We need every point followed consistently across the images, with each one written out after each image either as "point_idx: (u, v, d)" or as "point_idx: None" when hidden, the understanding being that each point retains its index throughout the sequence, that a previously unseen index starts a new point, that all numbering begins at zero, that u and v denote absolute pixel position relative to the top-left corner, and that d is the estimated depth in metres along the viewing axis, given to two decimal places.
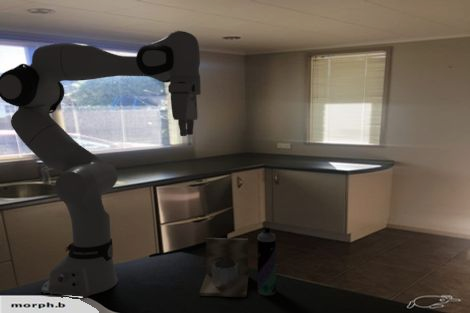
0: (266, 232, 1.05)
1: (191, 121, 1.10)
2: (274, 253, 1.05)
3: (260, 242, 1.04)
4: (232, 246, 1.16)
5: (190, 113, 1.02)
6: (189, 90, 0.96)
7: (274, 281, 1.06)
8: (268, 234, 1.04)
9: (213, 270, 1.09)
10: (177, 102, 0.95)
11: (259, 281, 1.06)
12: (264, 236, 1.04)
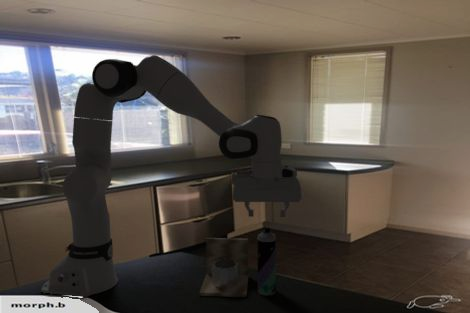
0: (266, 232, 1.05)
1: (249, 202, 1.06)
2: (274, 253, 1.05)
3: (260, 242, 1.04)
4: (232, 246, 1.16)
5: None
6: None
7: (274, 281, 1.06)
8: (268, 234, 1.04)
9: (213, 270, 1.09)
10: None
11: (259, 281, 1.06)
12: (264, 236, 1.04)
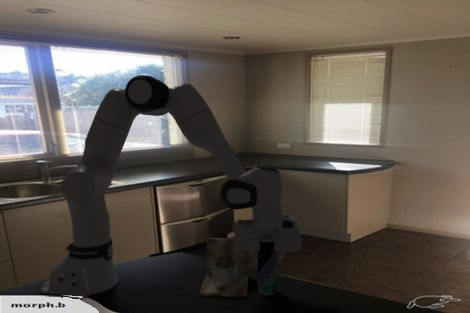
0: None
1: None
2: (274, 253, 1.05)
3: (260, 242, 1.04)
4: (232, 246, 1.16)
5: None
6: None
7: (274, 281, 1.06)
8: None
9: (213, 270, 1.09)
10: None
11: (259, 281, 1.06)
12: (264, 237, 1.04)
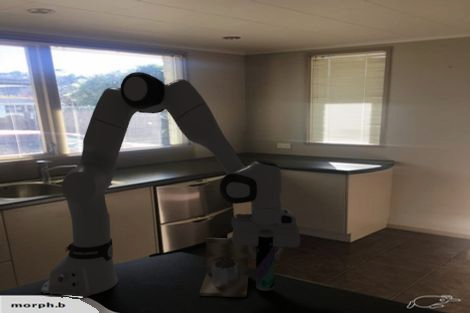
0: None
1: None
2: (273, 248, 1.04)
3: (259, 237, 1.04)
4: (232, 246, 1.16)
5: None
6: None
7: (272, 276, 1.05)
8: (267, 230, 1.04)
9: (213, 270, 1.09)
10: None
11: (257, 276, 1.05)
12: (263, 232, 1.03)
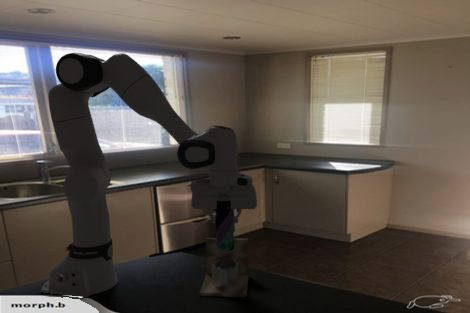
0: None
1: (212, 209, 1.10)
2: (231, 212, 1.08)
3: (217, 201, 1.07)
4: None
5: None
6: None
7: (232, 240, 1.09)
8: (225, 194, 1.07)
9: (213, 270, 1.09)
10: (255, 193, 1.07)
11: (217, 240, 1.09)
12: (221, 196, 1.07)
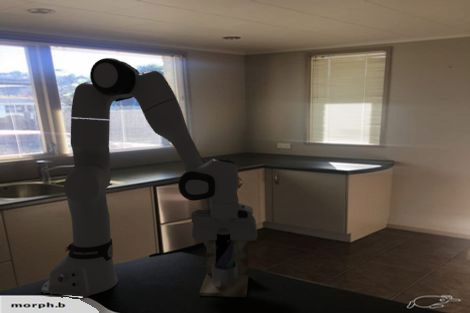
0: None
1: None
2: (231, 245, 1.09)
3: (217, 235, 1.08)
4: None
5: None
6: None
7: None
8: None
9: (213, 270, 1.09)
10: (255, 225, 1.08)
11: None
12: (221, 229, 1.08)
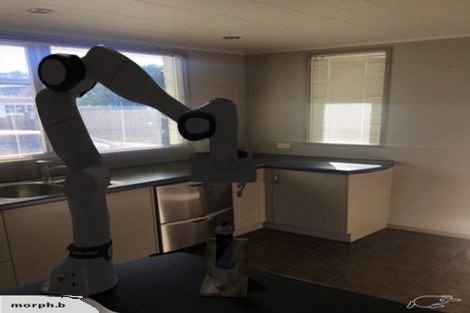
0: (223, 225, 1.09)
1: (207, 182, 1.09)
2: (231, 245, 1.09)
3: (217, 235, 1.08)
4: None
5: None
6: None
7: None
8: (225, 227, 1.08)
9: (213, 270, 1.09)
10: (255, 167, 1.07)
11: None
12: (221, 229, 1.08)
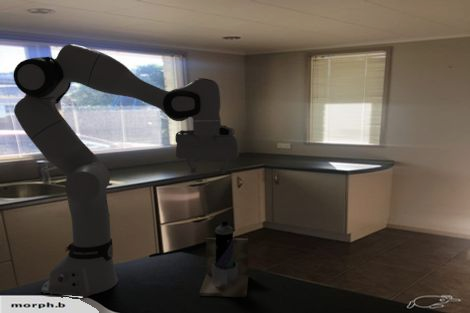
0: (223, 225, 1.09)
1: (192, 160, 1.15)
2: (231, 245, 1.09)
3: (217, 235, 1.08)
4: None
5: None
6: None
7: None
8: (225, 227, 1.08)
9: (213, 270, 1.09)
10: (237, 144, 1.12)
11: None
12: (221, 229, 1.08)
